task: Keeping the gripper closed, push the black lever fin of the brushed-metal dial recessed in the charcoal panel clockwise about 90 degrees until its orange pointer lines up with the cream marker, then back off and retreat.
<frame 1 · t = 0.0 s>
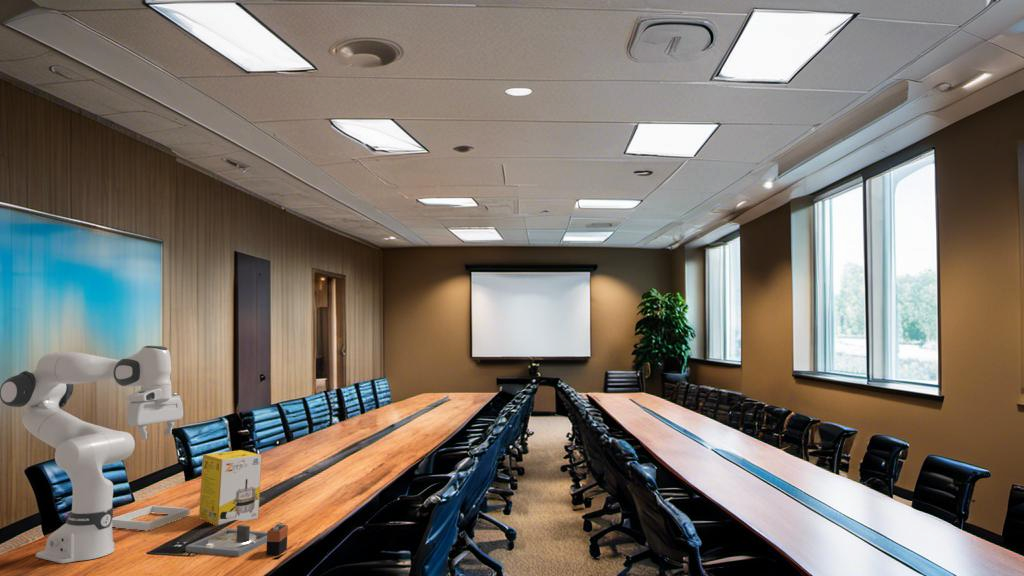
hand: (156, 437, 198), 39 cm above the table, tool pointing down, fingers open, 8 cm apart
panel: (232, 548, 207), on the table
dial: (232, 534, 207), point 5 cm above the table, hinge at 0.0°
light grey rectangular frame: (149, 521, 236), on the table
battery: (276, 556, 200), on the table
packaging box: (228, 519, 242), on the table
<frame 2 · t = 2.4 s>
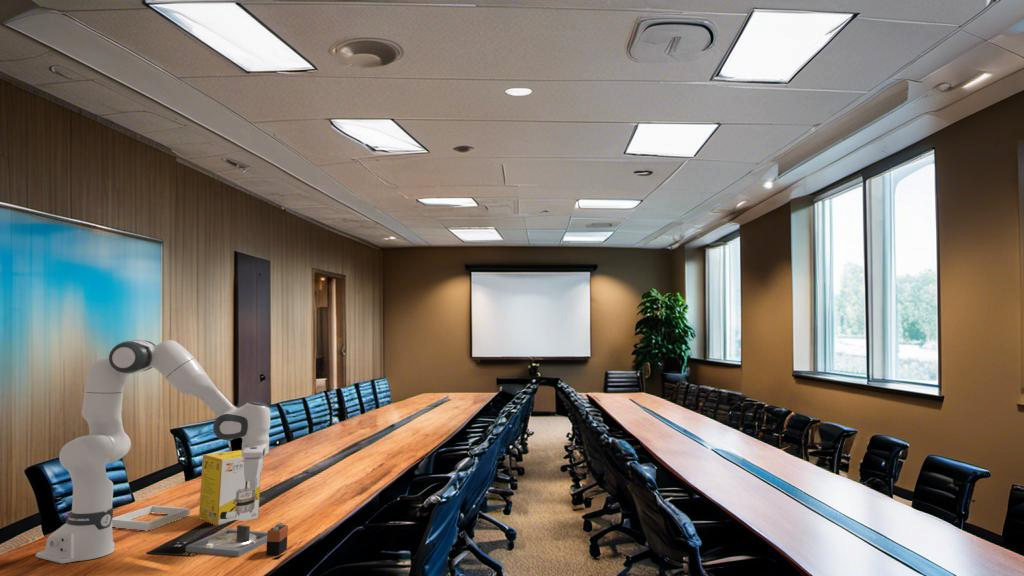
hand: (253, 488, 212), 19 cm above the table, tool pointing down, fingers closed
nothing on the table moved.
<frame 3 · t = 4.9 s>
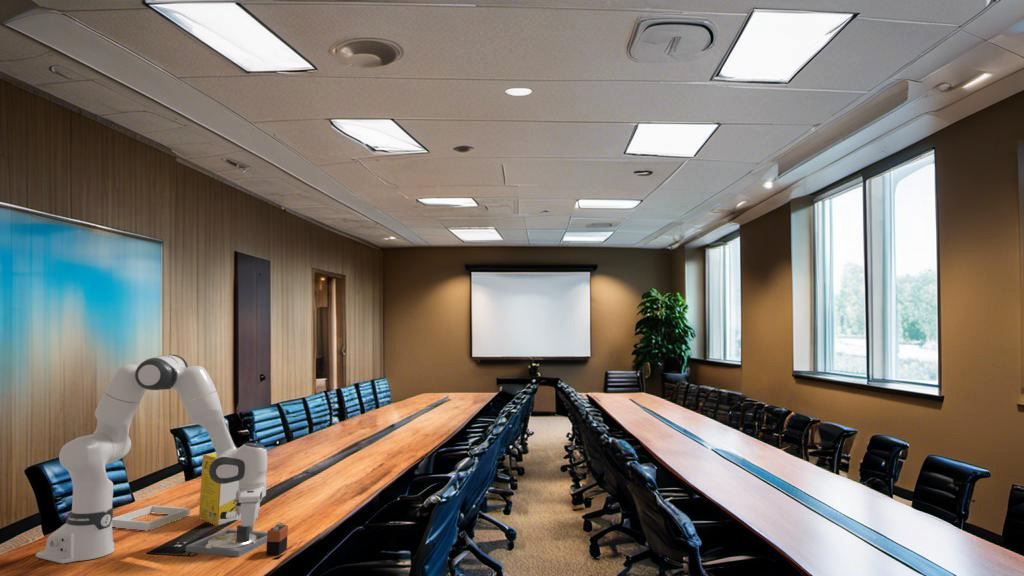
hand: (250, 532, 208), 5 cm above the table, tool pointing down, fingers closed
dial: (232, 534, 207), point 5 cm above the table, hinge at -0.4°, touching gripper
everything else where it was.
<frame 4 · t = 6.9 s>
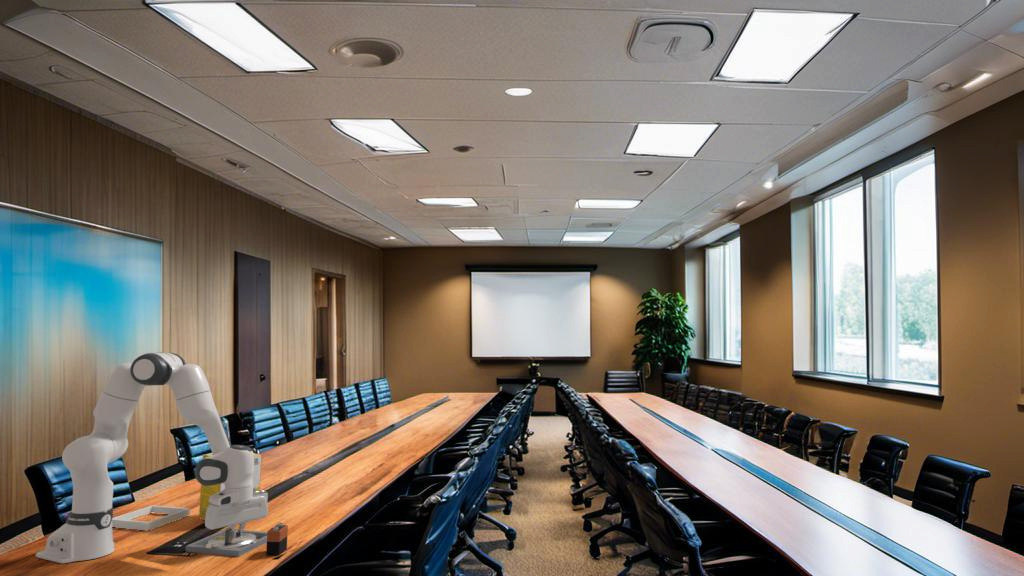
hand: (236, 537, 202), 5 cm above the table, tool pointing down, fingers closed
dial: (232, 534, 207), point 5 cm above the table, hinge at -58.4°, touching gripper
everything else where it was.
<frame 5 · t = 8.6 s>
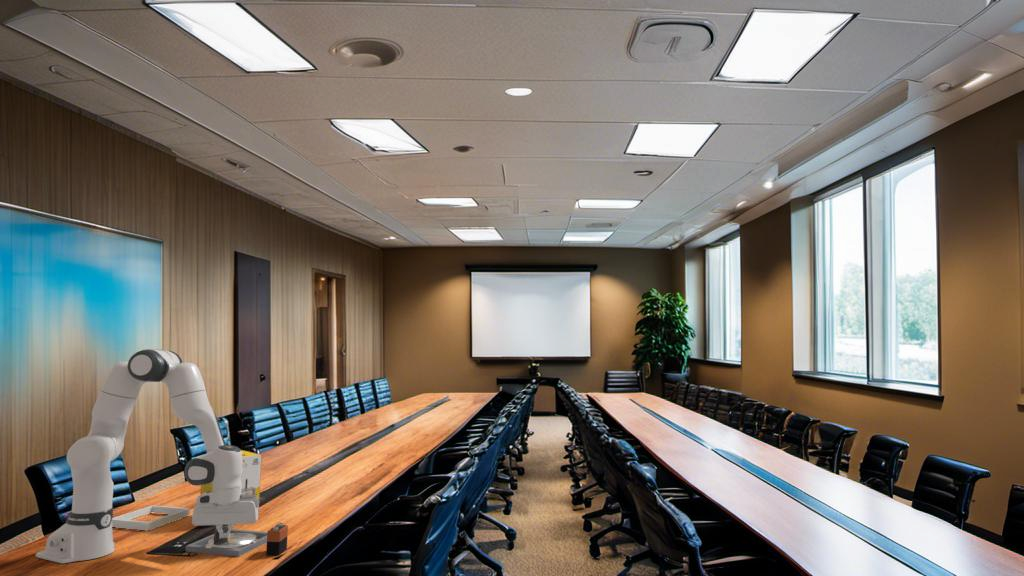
hand: (224, 538, 201), 5 cm above the table, tool pointing down, fingers closed
dial: (232, 534, 207), point 5 cm above the table, hinge at -95.3°, touching gripper
everything else where it was.
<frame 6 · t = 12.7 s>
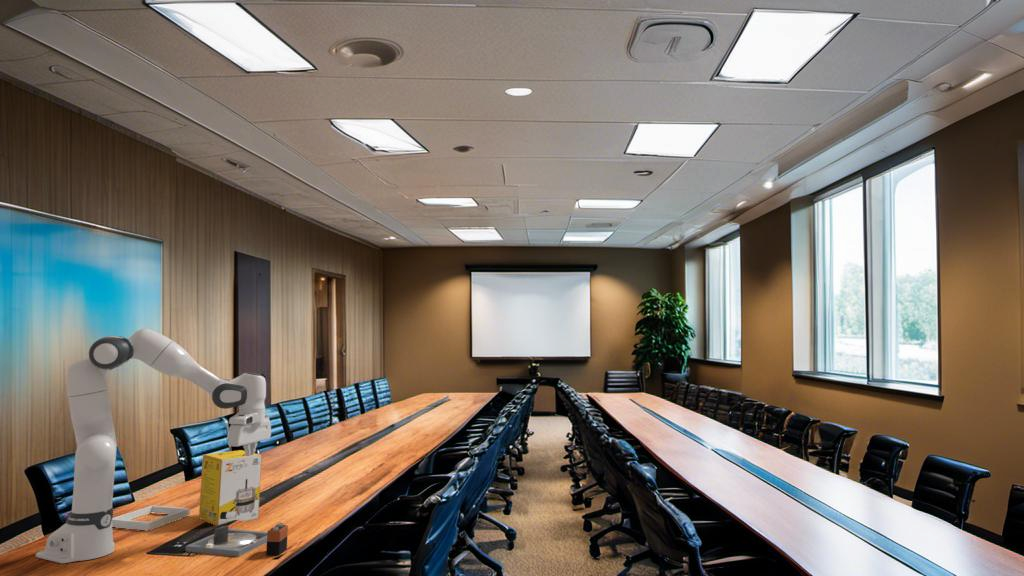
hand: (249, 455, 221), 29 cm above the table, tool pointing down, fingers closed
dial: (232, 534, 207), point 5 cm above the table, hinge at -95.8°
everything else where it was.
at the end: dial at -96° (first picture: +0°) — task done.
